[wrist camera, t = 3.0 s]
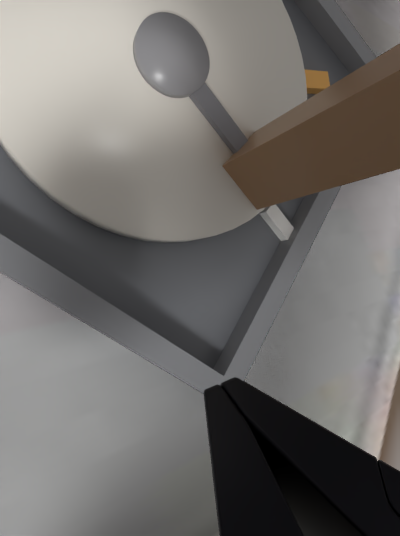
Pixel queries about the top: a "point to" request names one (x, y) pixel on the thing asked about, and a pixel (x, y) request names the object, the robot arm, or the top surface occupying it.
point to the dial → (182, 112)
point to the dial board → (181, 250)
